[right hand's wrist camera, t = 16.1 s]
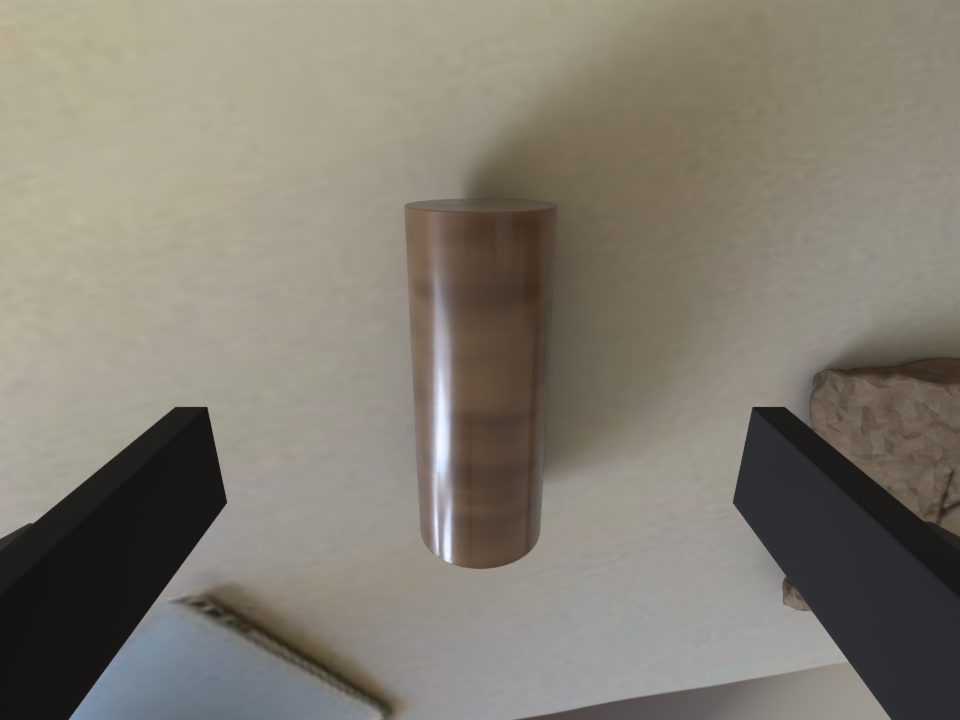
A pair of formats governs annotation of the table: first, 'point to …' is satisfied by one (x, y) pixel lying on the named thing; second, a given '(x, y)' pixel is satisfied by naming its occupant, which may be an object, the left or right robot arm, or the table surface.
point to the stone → (895, 435)
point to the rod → (480, 372)
